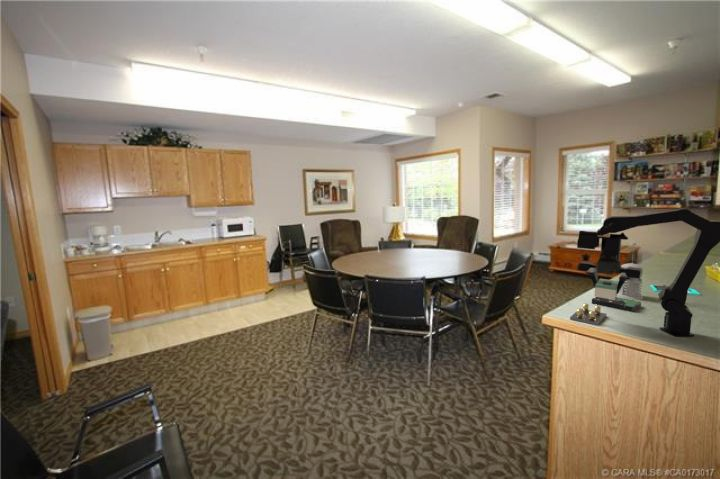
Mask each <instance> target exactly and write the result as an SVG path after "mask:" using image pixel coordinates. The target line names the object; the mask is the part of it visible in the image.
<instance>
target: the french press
mask: <svg viewBox="0 0 720 479" xmlns="http://www.w3.org/2000/svg"><path fill="white" fill-rule="evenodd" d="M630 246H632V252H634V248H635V246H637V242H631V243H630ZM633 261H634V255H632V258H631V262H630V263H624V264H621V268H623V269H627V268H628V267H635V268H641V269H642V270H643V269H644V267H643V266H642V265H641V264H639V263H638V264H637V263H634V262H633ZM620 276H621V274H620ZM620 276H619V277H620ZM642 285H643V279H642V278H631V279H627V280H626V281H625V282H624V284H623V286H622V288H621V289H620V291H619V293H618V294H617V296H618V297H619V298H623V299H628V300H642V299H644V296H643V295H642V287H643V286H642Z"/></svg>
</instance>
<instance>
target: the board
mask: <svg viewBox="0 0 720 479" xmlns="http://www.w3.org/2000/svg"><path fill="white" fill-rule="evenodd" d="M618 283H619V280H613V279H607V278H606V279H605V278H598V282H597V283H596V284H595V288H594V294H593V295H594V298H595V297H601V298H607V299H613V300H615V298H616V297H617V296H618V295H617V287H618Z"/></svg>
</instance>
